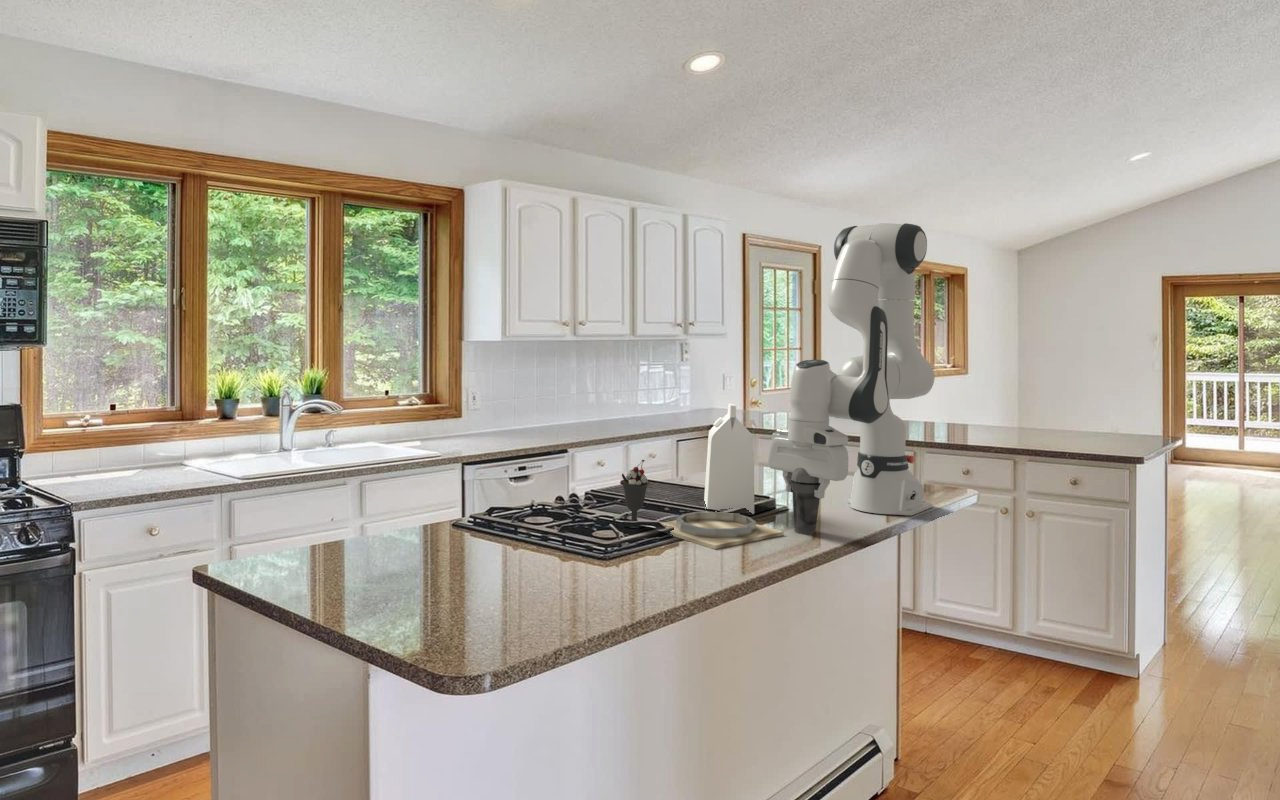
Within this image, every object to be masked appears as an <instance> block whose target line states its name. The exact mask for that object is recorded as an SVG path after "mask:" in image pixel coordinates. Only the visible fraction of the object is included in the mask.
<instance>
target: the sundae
mask: <svg viewBox="0 0 1280 800" xmlns="http://www.w3.org/2000/svg"><path fill="white" fill-rule="evenodd" d="M644 462H645V459H641V461H640V463H639V464H638V465H637V466H634V467H633V469H629V471H628V472H627V473H626V476H625V474H624V473H622V474H621V477H622V480H620V482H619V483H620V485H622V487H623V493H624V494H623V495H624V502H625V503H624V504H625V506H626V507H627V509H628V510H630V511H631V516H630V517H631V518H630V521H638V511H639V510H641V509H642V507H643V506H644V504H645V499H646V491H647V487H648V485H650V482H649V481H648V477H647V476H646V475H645V470H644V469H643V463H644ZM639 466H640V467H641V468H640V469H639ZM638 522H639V521H638Z"/></svg>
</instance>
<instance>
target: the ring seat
mask: <svg viewBox="0 0 1280 800" xmlns="http://www.w3.org/2000/svg"><path fill="white" fill-rule="evenodd" d="M661 523H662V524H664V525H667V526H672V527H674V530H672V531H670V532H671V533H672V535H673V536H672V535H671V536H672V537H675V538H679V539H682V540H685V541H688V542H691V543H694V544H696V545H700V546H704V547H706V548H710V549H714V550H718V549H723V548H728V547H731V546H738V545H741V544H748V543H752V542H753V543H754V542H757V541H761V540H762V541H763V540H767V539H770V538H776V537H782V536H784V532H785V531H783V530H779V529H776V528H772V527H769V526H765V525H761V524H757V521H756V520H755V519H753V518H752V517H750V516H747V515H744V514H740V513H726V512H717V511H715V512H707V511H693V512H689V513H688V512H686V513H682V514H681V515H678V516H677V517H676V519H675V520H670V521H664V522H661Z"/></svg>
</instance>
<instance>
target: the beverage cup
mask: <svg viewBox="0 0 1280 800" xmlns="http://www.w3.org/2000/svg"><path fill="white" fill-rule="evenodd" d="M820 484H821V483H819V478H817V477H812V476H810V475H809V474H808V473H807V471H806V470H805V469H803V468H797V469H795V470H794V471H793V473H792V477H791V486H792V490H793V492H792V506H793V507H792V510H793V527H794V528H793V529H794V531H793V532H795V533H796V534H800V535H813V534H815V533H816V526H817V521H818V520H817V519H818V513H819V506H820V499H819V498H815V497H814V494H815V493H814V490H818V488H819V486H820Z"/></svg>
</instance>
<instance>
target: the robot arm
mask: <svg viewBox="0 0 1280 800" xmlns="http://www.w3.org/2000/svg"><path fill="white" fill-rule="evenodd" d="M833 244H834V245H833V253H834V258H835V260H836V261H835V265H834V267H833V272H832V276H831V278H830V279H831V280H830V283H829V284H830V285H829V288H828V295H827V306H828V308H829V310H830V313H832V316H834V318H836V319H837V320H838V321H840V322H841V323H843V324H845V325H846V326H849V327H850V328H852V329H855V330H856V331H859V333H860V334H861V336H862V339H863V350H862V351H863V355H858V356H854V357H850V358H846V359H845V360H844V361H843V362H842V363H841V364H840V367H839V369H838V373H835V372H834V371H833V370H831V367H830V363H829V361H827V360H824V359H806V360H801V361H798V362H797V363H796V364H795V366H794V369H793V372H792V376H791V382H790V389H789V392H790V393H789V402H790V405H791V406H790V409H791V410H790V413H789V416H788V426H787V429H781V428H779V429H777V430H775V431H774V432H773V433H772V434H771V442H770V447H769V451H768V457H767V464H768V466H769V468H770V469H772V470H776V471H781V472H782V478H783V480H784V482H785V484H786V485H785V486H786V487H785V491H786V492H788V493H793V490H792V486H791V477H792V473H793V471H794V470H795V469H797V468H803V469H805V470H806V471H807V473H808V474H809V475H810V476H812V477H817V478H819V483H821V484H820V486H819V488H818V490H814V493H815V494H814V497H815V498H819V499H825V494H826V492H825V491H826V489H828V487H829V485H830V483H831V481H832V482H840V481H844V480H845V479H846V478H847V477H848V475H849V452H848V451H849V450H848V449H847V448H846V445H847V444H848V442H849V441H848V440H849V437H848V435H847V434H845V433H843V432H841V431H839V430H838V429H835V427H832V426H831V425H830V418H835V419H842V420H843V419H844V420H853V421H855V422H859V428H860V430H859V431H860V432H859V436H860V437H859V438H860V439H859V441H860V442H859V451H858V452H857V458H856V460H857V463H856V465H857V467H858V468H857V470H856V471H855V472H854V474H853V475H854V476H853V480H852V481H853V482H852V487H851V488H852V489H851V495H850V497H848V498H847V503H848V504H850V505H849V506H850V508H851V509H854V510H857V511H861V512H866V513H871V514H872V513H873V514H879V515H898V516H899V515H900V516H913V515H917V514H919V513H921V512H924V511H926V510H929V509H932V508H933V503H932V502H930V501H927V500H924V487H923V483H922V482H921V481H920V480H919V479H918V478H917V477H916V476H915V475H914V474H913V473H912V472H911V471H910V470H909V468H910V467H909V464H914V462H915V460H916V459H915V458H916V457H915V456H914V455H909V454H906V441H907V425H906V424H905V422H904V420H902V418H901V417H899V416H898V415H897V414H894V412H893V411H892V408H891V402H890V401H891V400H911V399H914V398H919V397H923V396H926V395H927V394H929V393H930V392H931V390H932V388H933V386H934V384H935V383H934V382H935V370H934V368H933V366H932V364H931V363H930V362H929V361H928V360H927V359H926V358H925V356H923V354H922V353H921V351H920V349H919V347H918V344H917V340H916V338H915V337H916V336H915V331H914V330H915V329H914V327H915V325H914V324H915V323H914V322H915V320H914V319H915V317H914V316H915V302H916V301H915V300H916V280H915V278H916V277H915V270H916V269H917V268H918V267H919V266H921V264H922V263H923V261H924V259H925V257H926V255H927V252H928V251H927V249H928V240H927V235H926V233H925V231H924V229H923V228H922V227H921V226H919V225H918V224H914V223H913V224H912V223H908V222H906V223H903V224H902V223H889V222H888V223H885V222H884V223H877V224H876V223H875V224H867V225H860V226H858V225H854V226H849V227H846V228H843V229H841V231H840V232H839V233H838V234H837V235H836V237H835V240H834V243H833Z"/></svg>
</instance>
